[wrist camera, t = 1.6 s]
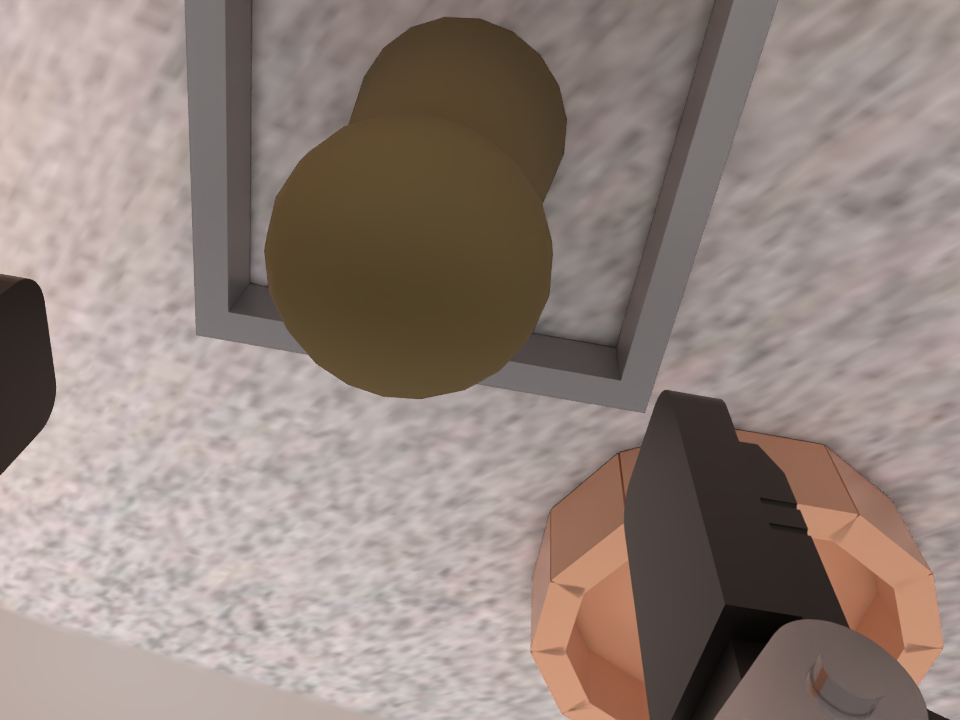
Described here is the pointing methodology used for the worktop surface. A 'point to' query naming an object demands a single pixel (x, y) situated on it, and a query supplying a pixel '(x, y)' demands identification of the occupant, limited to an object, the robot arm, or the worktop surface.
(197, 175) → the rectangular frame
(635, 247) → the worktop surface
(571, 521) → the bowl
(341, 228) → the olive pestle
